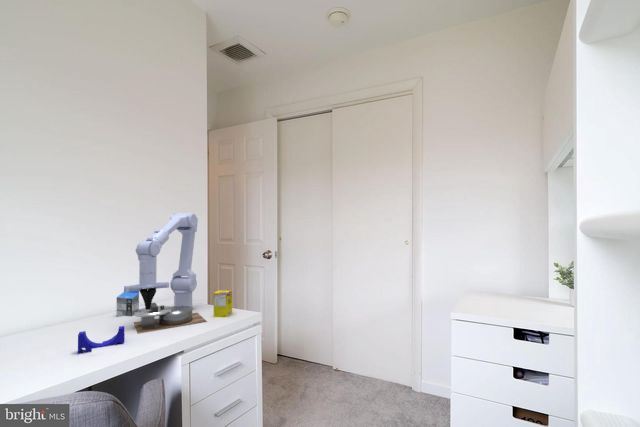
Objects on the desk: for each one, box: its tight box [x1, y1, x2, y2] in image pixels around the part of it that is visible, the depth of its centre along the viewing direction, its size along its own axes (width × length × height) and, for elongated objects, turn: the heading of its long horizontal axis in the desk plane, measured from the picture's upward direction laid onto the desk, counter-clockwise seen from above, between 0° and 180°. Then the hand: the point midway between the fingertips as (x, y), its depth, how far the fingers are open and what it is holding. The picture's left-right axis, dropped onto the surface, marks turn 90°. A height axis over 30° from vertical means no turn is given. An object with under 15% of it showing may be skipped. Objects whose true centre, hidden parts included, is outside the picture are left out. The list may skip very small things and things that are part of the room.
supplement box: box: [213, 289, 233, 318], centre depth 138 cm, size 6×6×11 cm
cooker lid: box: [134, 302, 172, 318], centre depth 125 cm, size 13×13×3 cm
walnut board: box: [133, 312, 208, 335], centre depth 128 cm, size 16×24×1 cm, turn 124°
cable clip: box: [77, 325, 126, 355], centre depth 104 cm, size 12×4×6 cm, turn 118°
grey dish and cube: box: [140, 305, 193, 328], centre depth 127 cm, size 12×18×4 cm, turn 124°
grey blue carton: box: [116, 285, 140, 318], centre depth 140 cm, size 9×4×12 cm, turn 71°
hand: (147, 308), depth 124 cm, fingers closed
